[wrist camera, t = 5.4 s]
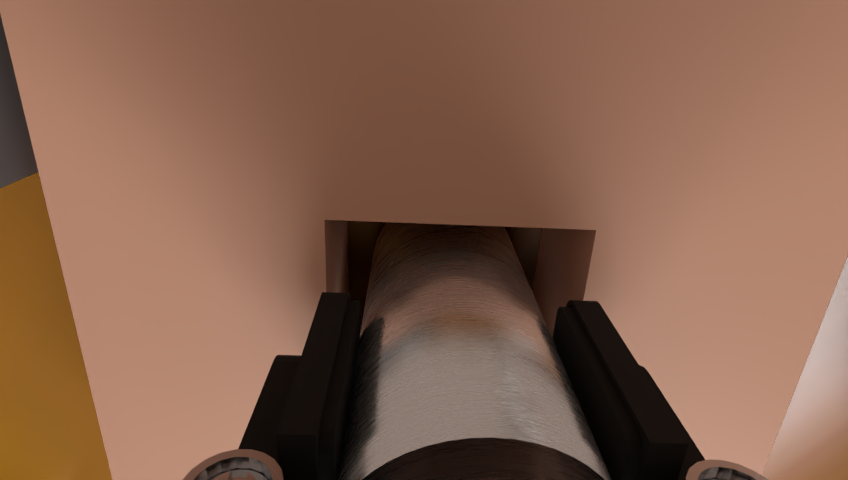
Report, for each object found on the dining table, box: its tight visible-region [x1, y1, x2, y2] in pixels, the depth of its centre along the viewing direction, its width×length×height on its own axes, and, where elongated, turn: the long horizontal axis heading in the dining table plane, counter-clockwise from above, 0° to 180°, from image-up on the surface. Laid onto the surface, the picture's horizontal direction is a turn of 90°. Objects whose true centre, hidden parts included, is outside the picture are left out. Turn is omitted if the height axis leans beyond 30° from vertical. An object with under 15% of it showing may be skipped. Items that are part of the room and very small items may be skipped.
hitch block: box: [0, 0, 848, 480], centre depth 14 cm, size 16×16×4 cm
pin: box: [337, 222, 612, 480], centre depth 10 cm, size 4×4×11 cm
